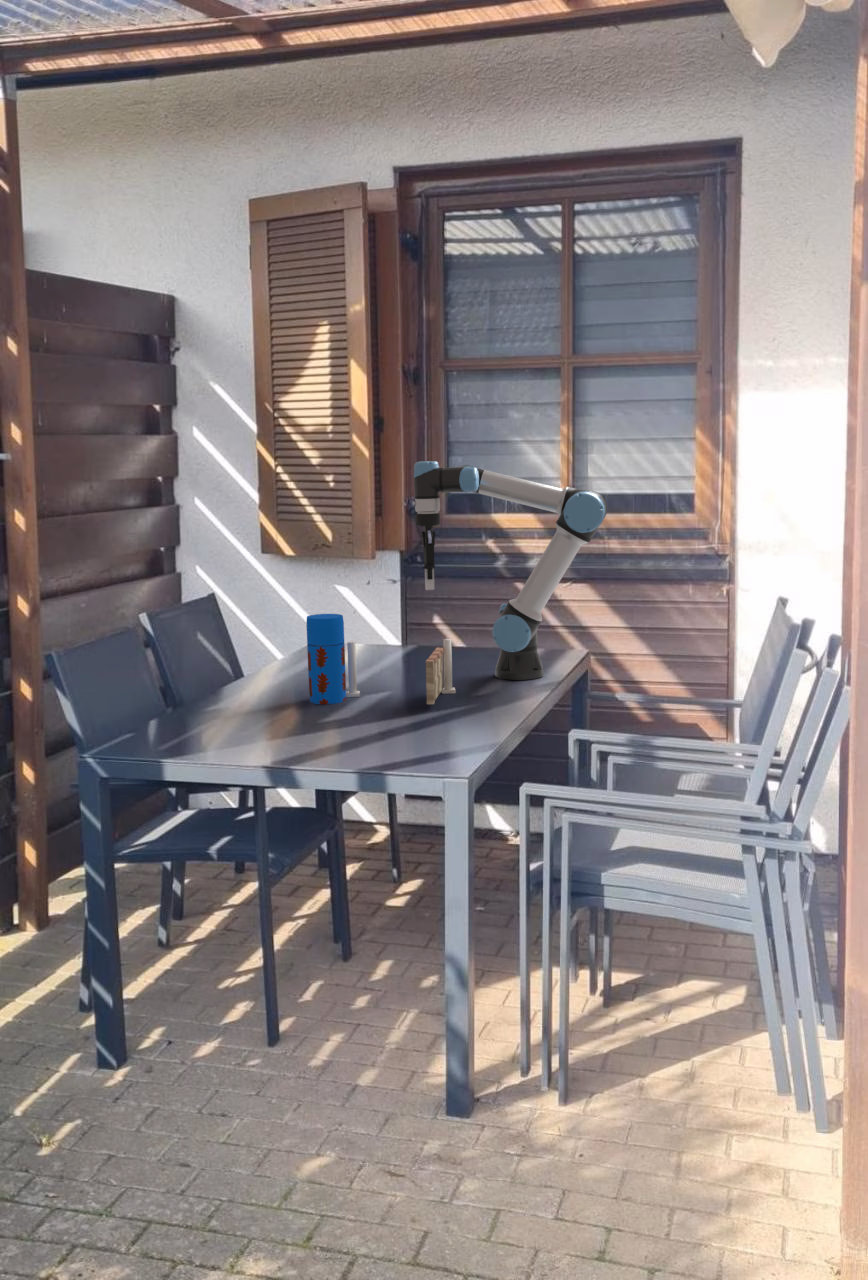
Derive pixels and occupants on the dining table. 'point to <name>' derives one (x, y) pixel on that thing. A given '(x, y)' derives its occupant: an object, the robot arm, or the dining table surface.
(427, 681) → the gate
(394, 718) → the dining table surface
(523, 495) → the robot arm
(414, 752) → the dining table surface
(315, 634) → the thermos
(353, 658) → the gate posts
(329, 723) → the dining table surface
